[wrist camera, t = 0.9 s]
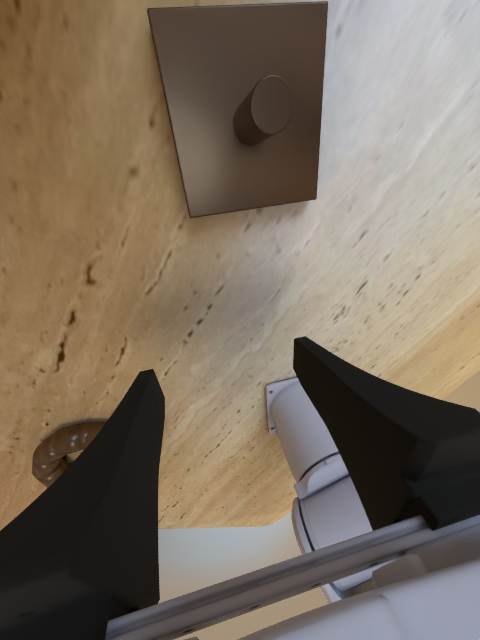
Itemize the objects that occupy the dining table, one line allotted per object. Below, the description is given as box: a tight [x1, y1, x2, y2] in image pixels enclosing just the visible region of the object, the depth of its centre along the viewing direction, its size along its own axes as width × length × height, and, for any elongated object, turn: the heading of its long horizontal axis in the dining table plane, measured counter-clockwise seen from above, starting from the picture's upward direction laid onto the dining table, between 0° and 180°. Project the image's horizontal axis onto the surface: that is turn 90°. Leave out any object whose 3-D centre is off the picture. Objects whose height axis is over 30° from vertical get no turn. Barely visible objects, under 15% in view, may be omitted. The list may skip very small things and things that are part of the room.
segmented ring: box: [32, 422, 105, 488], centre depth 26 cm, size 11×11×2 cm
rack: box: [147, 1, 328, 218], centre depth 12 cm, size 9×9×5 cm
